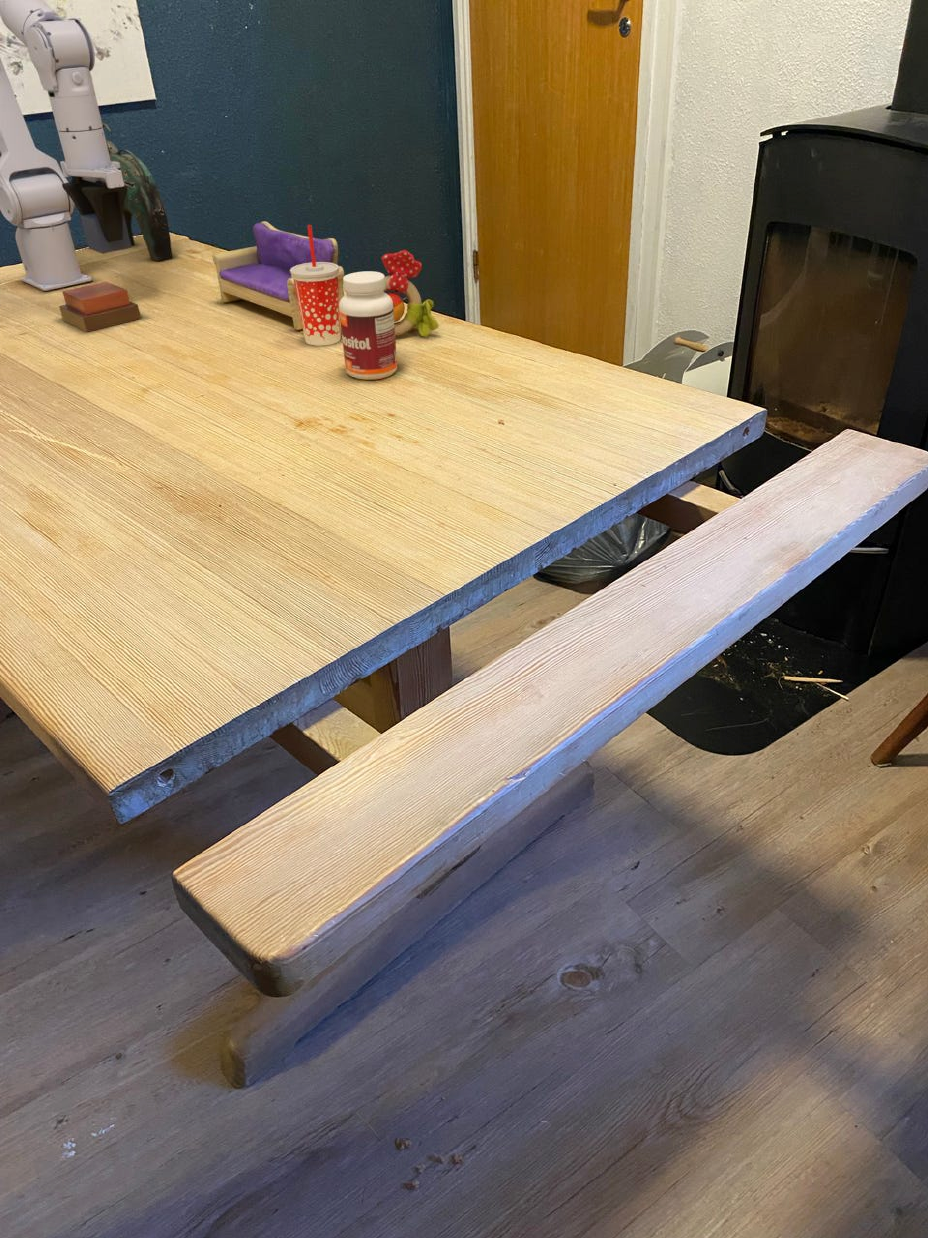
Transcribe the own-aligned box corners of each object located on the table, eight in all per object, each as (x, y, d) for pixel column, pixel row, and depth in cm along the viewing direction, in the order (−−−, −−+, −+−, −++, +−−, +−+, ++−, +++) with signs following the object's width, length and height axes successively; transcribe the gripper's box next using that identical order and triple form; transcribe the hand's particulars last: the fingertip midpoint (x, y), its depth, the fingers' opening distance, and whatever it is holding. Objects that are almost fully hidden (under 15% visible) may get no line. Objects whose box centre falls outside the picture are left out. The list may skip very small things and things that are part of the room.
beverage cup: (354, 341, 117) (343, 225, 109) (311, 350, 114) (296, 233, 106) (334, 329, 121) (321, 217, 113) (292, 338, 119) (276, 224, 110)
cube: (88, 248, 128) (79, 215, 126) (117, 242, 131) (109, 210, 128) (102, 253, 126) (94, 219, 123) (131, 247, 128) (124, 214, 125)
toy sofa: (218, 302, 133) (204, 228, 127) (268, 289, 138) (257, 217, 132) (298, 333, 120) (287, 252, 114) (350, 318, 125) (343, 240, 119)
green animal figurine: (99, 245, 164) (68, 120, 152) (132, 239, 167) (104, 116, 156) (151, 264, 152) (122, 130, 140) (186, 256, 156) (160, 125, 144)
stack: (62, 320, 128) (54, 291, 126) (115, 307, 132) (108, 279, 130) (87, 332, 123) (79, 302, 121) (141, 318, 127) (134, 289, 125)
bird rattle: (397, 362, 116) (456, 324, 116) (355, 285, 109) (418, 245, 109) (382, 348, 121) (438, 311, 121) (341, 273, 114) (401, 235, 114)
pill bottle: (335, 373, 107) (324, 278, 101) (371, 359, 111) (363, 266, 105) (372, 385, 104) (363, 287, 98) (408, 369, 108) (402, 274, 101)
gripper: (134, 129, 117) (157, 240, 125) (85, 121, 126) (110, 225, 134) (82, 136, 113) (110, 249, 121) (35, 127, 122) (64, 234, 130)
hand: (107, 237), depth 127 cm, fingers closed on cube, 4 cm apart
